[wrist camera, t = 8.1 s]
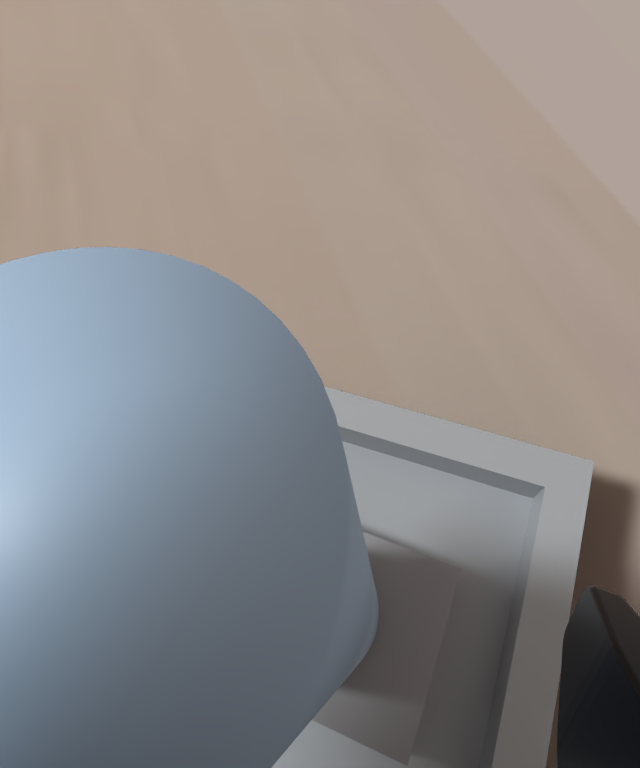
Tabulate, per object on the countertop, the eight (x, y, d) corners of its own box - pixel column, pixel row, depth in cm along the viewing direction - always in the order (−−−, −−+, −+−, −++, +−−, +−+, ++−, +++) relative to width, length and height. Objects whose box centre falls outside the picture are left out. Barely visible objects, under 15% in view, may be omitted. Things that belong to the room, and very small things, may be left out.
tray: (55, 750, 16) (8, 767, 14) (225, 381, 21) (207, 354, 19) (484, 971, 13) (503, 1034, 11) (570, 481, 18) (594, 461, 16)
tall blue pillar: (455, 573, 16) (782, 303, 3) (405, 754, 15) (645, 2211, 1) (252, 496, 18) (-134, 100, 5) (185, 648, 16) (-755, 726, 3)
